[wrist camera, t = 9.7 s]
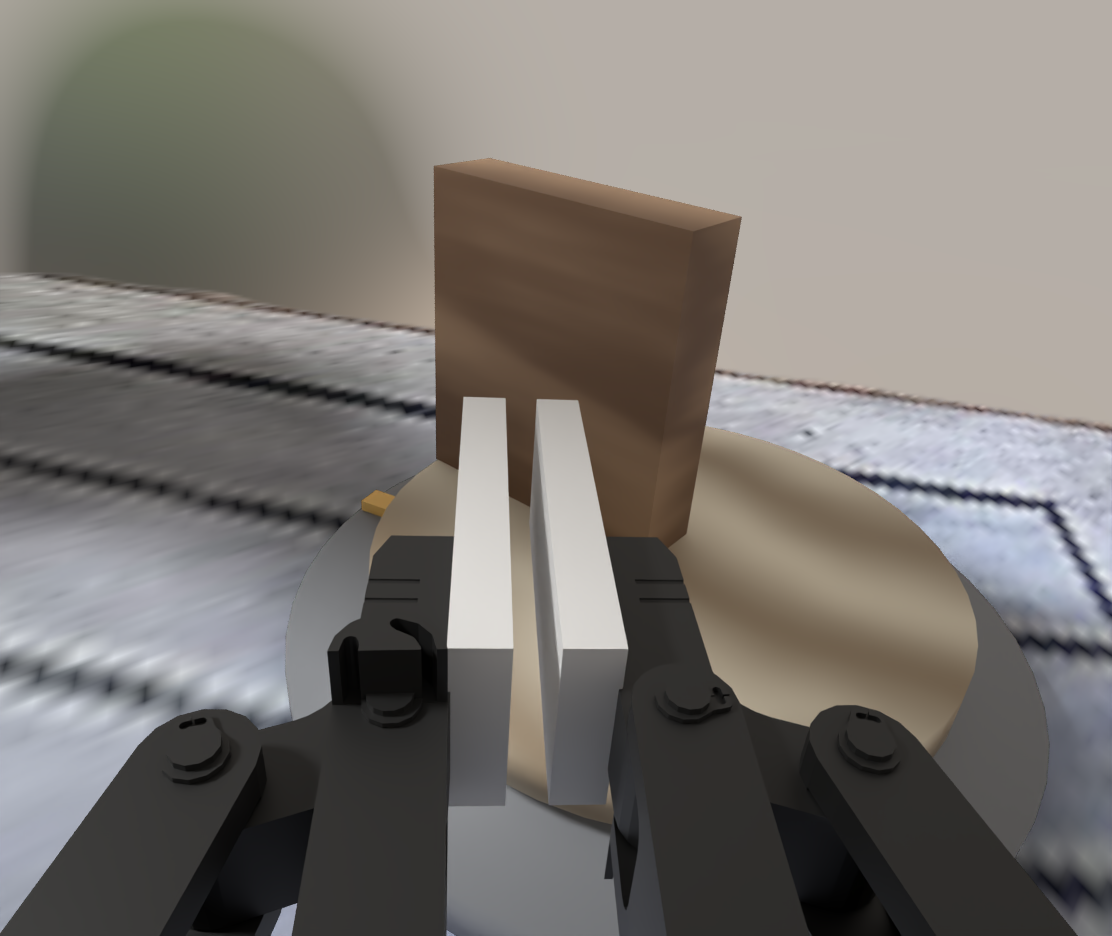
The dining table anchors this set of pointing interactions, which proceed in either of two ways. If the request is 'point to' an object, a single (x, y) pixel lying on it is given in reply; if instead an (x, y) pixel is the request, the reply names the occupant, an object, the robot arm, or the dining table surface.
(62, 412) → the dining table surface
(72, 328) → the dining table surface
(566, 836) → the base
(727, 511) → the dial
